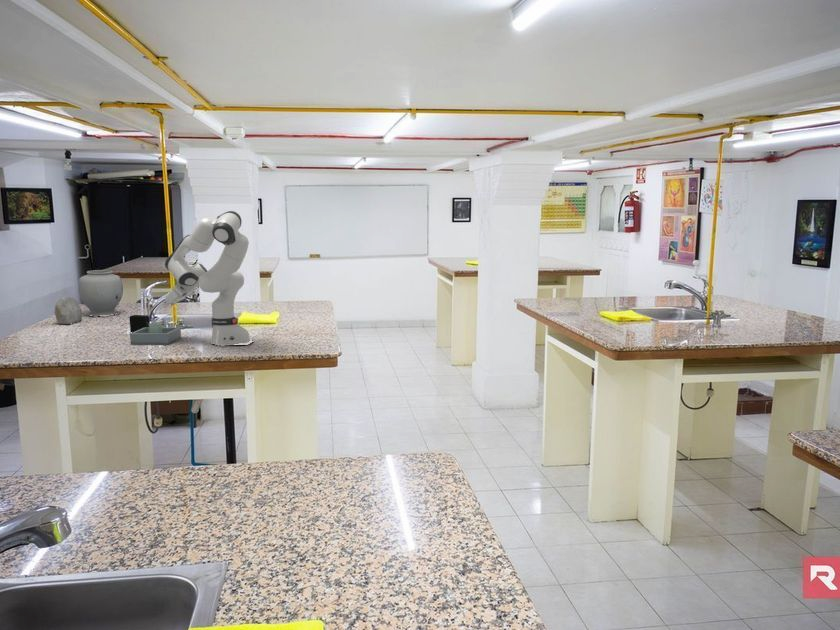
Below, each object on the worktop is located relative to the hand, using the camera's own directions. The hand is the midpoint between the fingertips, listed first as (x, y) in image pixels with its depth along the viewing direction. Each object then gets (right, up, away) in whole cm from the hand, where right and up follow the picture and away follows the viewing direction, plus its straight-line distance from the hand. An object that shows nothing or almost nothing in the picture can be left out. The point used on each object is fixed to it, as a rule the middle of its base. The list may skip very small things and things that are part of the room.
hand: (168, 306), depth 350 cm
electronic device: (-26, -15, +24) cm, 38 cm away
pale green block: (-6, -18, -1) cm, 19 cm away
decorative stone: (-82, -10, +54) cm, 99 cm away
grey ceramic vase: (-77, -5, +84) cm, 114 cm away
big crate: (-6, -19, -1) cm, 20 cm away
